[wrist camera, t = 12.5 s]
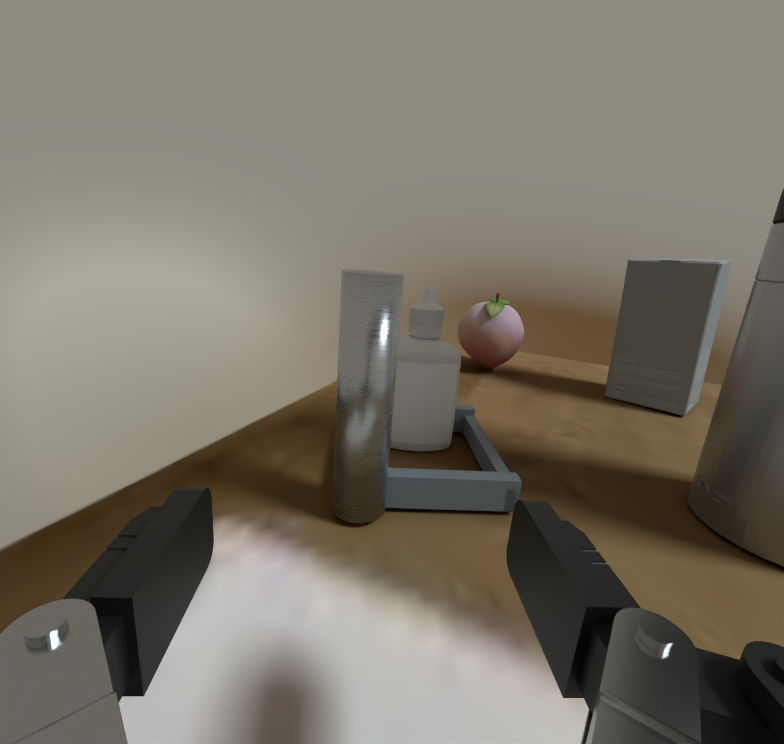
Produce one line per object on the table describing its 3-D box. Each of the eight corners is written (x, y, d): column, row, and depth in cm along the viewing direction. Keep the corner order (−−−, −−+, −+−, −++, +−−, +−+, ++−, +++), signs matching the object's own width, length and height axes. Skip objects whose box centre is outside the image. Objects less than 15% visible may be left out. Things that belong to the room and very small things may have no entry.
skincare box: (697, 406, 48) (740, 261, 43) (682, 420, 43) (729, 259, 38) (617, 385, 53) (648, 255, 49) (596, 396, 48) (628, 253, 44)
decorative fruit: (456, 357, 62) (465, 287, 59) (514, 364, 60) (526, 293, 57) (450, 374, 53) (460, 292, 50) (518, 383, 51) (532, 299, 48)
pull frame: (468, 427, 36) (490, 271, 33) (525, 528, 23) (571, 289, 20) (343, 421, 35) (350, 261, 32) (330, 522, 23) (339, 272, 19)
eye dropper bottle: (438, 463, 30) (457, 294, 27) (369, 443, 33) (379, 285, 29) (456, 441, 34) (476, 290, 31) (393, 424, 36) (405, 282, 33)
